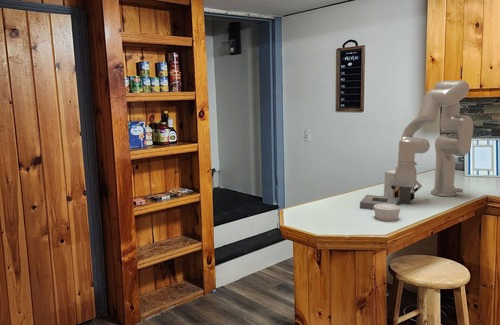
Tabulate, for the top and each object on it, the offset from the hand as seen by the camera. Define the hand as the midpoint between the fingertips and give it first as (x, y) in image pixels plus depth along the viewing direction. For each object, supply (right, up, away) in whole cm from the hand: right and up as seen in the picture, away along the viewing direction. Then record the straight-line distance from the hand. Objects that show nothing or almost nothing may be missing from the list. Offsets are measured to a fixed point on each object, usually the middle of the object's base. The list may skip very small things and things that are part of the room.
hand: (404, 199), depth 217 cm
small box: (0, +1, +16) cm, 16 cm away
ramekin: (-16, -6, -24) cm, 29 cm away
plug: (+1, -2, +1) cm, 2 cm away
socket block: (-13, -3, -4) cm, 14 cm away
